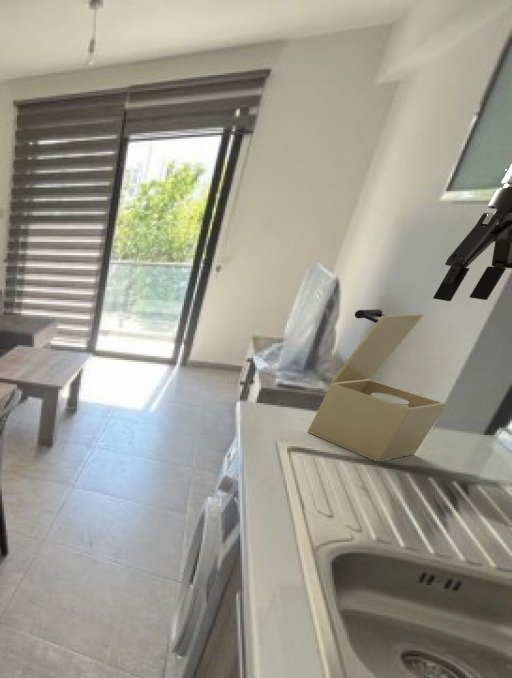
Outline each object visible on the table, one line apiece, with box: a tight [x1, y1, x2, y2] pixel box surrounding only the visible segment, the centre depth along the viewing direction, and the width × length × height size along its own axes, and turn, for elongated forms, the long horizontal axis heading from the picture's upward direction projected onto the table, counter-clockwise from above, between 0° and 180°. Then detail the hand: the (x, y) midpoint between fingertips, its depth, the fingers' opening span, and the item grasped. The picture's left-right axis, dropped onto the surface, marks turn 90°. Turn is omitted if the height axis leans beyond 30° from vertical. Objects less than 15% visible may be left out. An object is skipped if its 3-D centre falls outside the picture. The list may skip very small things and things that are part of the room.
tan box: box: [307, 378, 448, 462], centre depth 120 cm, size 17×15×14 cm
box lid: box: [330, 308, 424, 383], centre depth 120 cm, size 18×15×8 cm
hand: (459, 299), depth 103 cm, fingers open, 13 cm apart
